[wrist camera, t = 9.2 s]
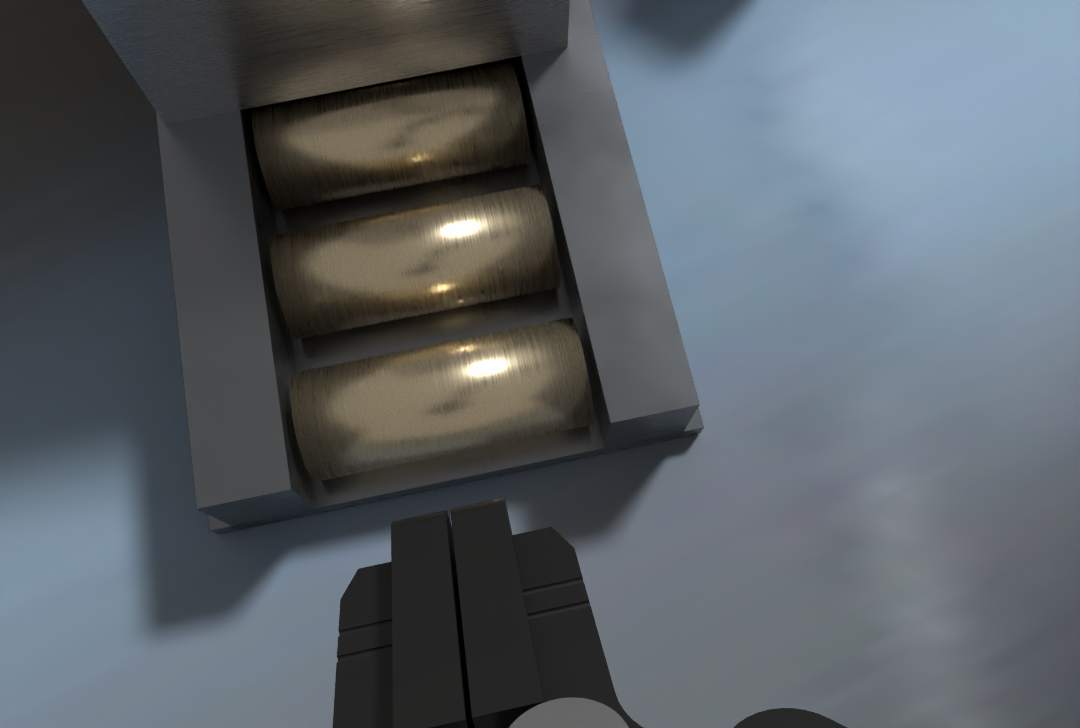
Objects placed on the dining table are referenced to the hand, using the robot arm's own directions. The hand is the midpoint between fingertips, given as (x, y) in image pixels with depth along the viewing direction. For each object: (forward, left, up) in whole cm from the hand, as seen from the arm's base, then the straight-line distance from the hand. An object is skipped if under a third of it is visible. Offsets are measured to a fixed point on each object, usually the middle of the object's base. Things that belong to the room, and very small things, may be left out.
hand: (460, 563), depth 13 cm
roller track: (+9, -11, -10) cm, 17 cm away
